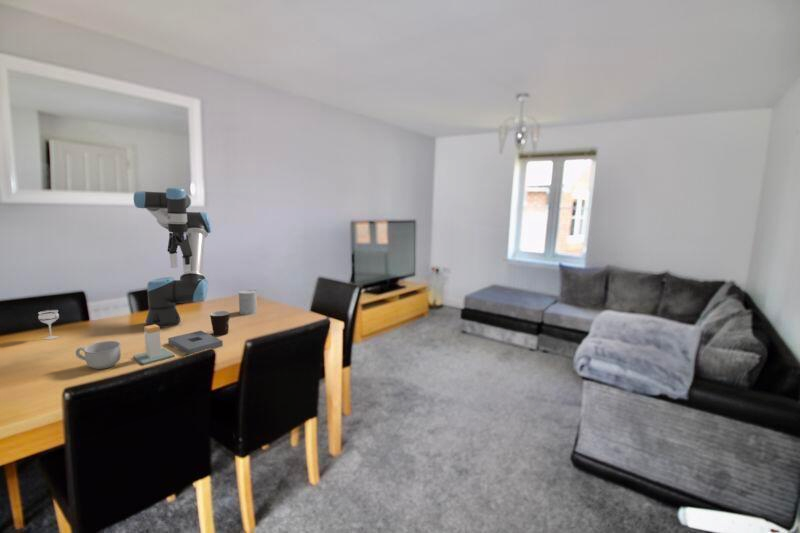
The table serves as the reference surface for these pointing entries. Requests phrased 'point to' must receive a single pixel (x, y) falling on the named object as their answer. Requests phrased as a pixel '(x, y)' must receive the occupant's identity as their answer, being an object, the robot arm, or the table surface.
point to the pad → (146, 360)
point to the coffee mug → (220, 322)
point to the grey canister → (247, 302)
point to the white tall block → (152, 340)
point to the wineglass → (49, 319)
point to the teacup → (101, 354)
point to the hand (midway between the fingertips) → (180, 269)
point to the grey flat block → (194, 342)
